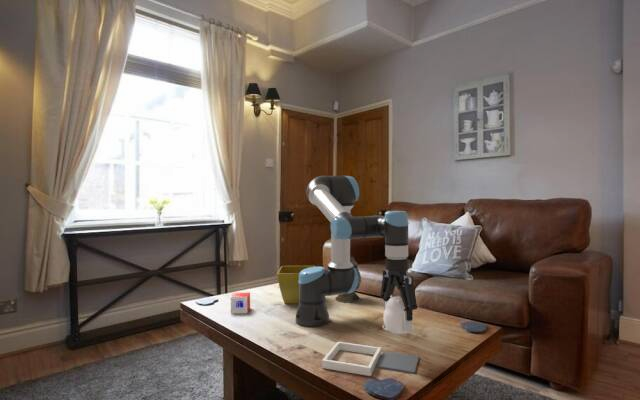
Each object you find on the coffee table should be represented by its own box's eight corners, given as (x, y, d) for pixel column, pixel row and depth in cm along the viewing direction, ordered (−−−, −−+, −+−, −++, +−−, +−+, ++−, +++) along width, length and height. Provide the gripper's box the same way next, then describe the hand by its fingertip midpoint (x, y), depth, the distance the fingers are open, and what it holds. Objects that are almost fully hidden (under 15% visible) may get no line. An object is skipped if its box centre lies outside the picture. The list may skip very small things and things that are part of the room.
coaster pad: (376, 367, 116) (376, 365, 116) (383, 352, 128) (383, 350, 128) (414, 373, 112) (414, 371, 112) (418, 357, 123) (418, 355, 123)
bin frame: (322, 367, 117) (321, 360, 117) (337, 348, 132) (337, 341, 132) (370, 376, 111) (370, 368, 111) (381, 354, 126) (381, 347, 126)
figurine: (387, 339, 115) (386, 301, 114) (378, 328, 124) (378, 293, 124) (417, 337, 116) (416, 300, 115) (407, 326, 125) (406, 292, 125)
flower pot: (314, 305, 184) (314, 272, 184) (277, 305, 184) (276, 273, 184) (315, 295, 203) (315, 265, 203) (281, 295, 204) (281, 266, 203)
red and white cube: (250, 308, 182) (250, 292, 182) (247, 313, 174) (247, 296, 174) (234, 308, 181) (233, 292, 181) (230, 313, 173) (230, 297, 173)
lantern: (329, 298, 196) (329, 252, 196) (349, 294, 205) (348, 250, 205) (346, 304, 185) (346, 255, 185) (366, 299, 194) (366, 252, 193)
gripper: (428, 261, 111) (429, 334, 111) (387, 252, 131) (388, 313, 131) (408, 263, 108) (410, 338, 108) (369, 253, 128) (370, 316, 128)
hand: (397, 324), depth 120 cm, fingers closed on figurine, 10 cm apart
